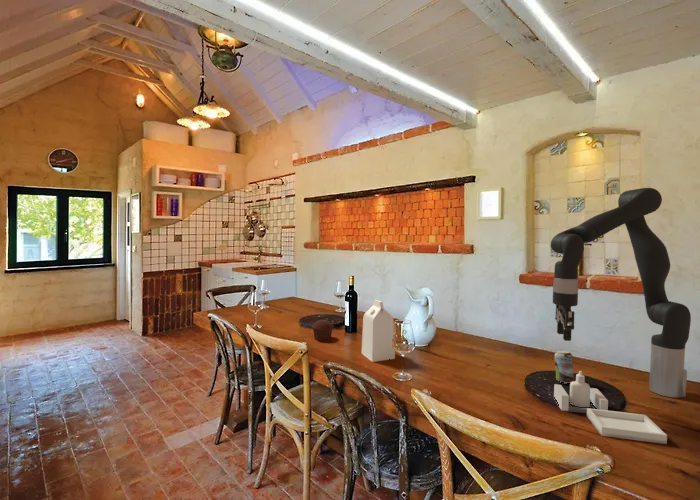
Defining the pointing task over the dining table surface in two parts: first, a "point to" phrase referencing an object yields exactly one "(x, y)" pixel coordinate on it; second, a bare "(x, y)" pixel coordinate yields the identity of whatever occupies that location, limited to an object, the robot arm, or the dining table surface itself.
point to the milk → (378, 333)
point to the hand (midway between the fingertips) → (563, 337)
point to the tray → (626, 426)
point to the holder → (563, 402)
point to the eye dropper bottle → (580, 391)
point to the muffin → (322, 330)
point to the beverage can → (564, 366)
